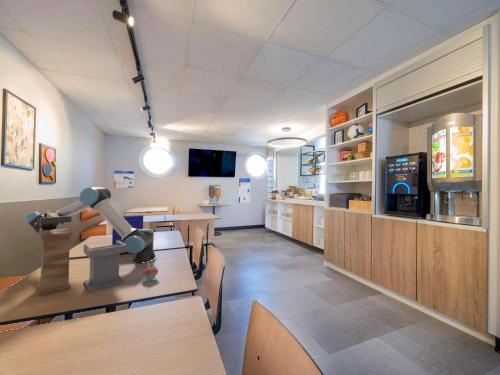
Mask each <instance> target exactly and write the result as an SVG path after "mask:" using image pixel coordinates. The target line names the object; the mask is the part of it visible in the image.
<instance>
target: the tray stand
mask: <svg viewBox="0 0 500 375" xmlns="http://www.w3.org/2000/svg"><path fill="white" fill-rule="evenodd" d="M123 252H126V244H124V243H122V242H120V241H119V240H116V244H115V245H112V244H110V245H104V246H98V247H91V248H90V247H89V246H88V245H87V244H84V245H83V253H84V255H85V256H87V258H88V259H89V278H88V279H84V280H83V285H84V286H85V287H86V289H87V291H88V292H90V293H93V292H96V291H99V290H104V289H106V288H107V289H108V288H110V287H114V286H118V285H121V284H124V283H125V279H124V278H123V277H122V276H121V275H120V254H119V253H122V254H124V253H123Z"/></svg>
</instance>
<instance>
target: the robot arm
mask: <svg viewBox="0 0 500 375" xmlns="http://www.w3.org/2000/svg"><path fill="white" fill-rule="evenodd" d="M111 198H112V192H111V190H110V189H108V188H107V187H104V186H95V187H94V186H90V187H89V186H87V187H85V188H83V189H82V190H81V192H80V193H79V198H78V199H79V200H77V201H75V202H73V203H71V204H69V205H66V206H64V207H62V208H59V209H56V210H55V211H52V213H54V212H55V213H56V214H57V215H58V216H74V215H76V214H78V213H81V212H83V211H85V210H87V209H89V208H90V209H91V210H93V211H97V212H98V213H99V214H100V215H101V216H102V217H103V219H104V220H105V221H107V223H108V224H109V225H110V226H111V227H112V229H113V228H114V229H115V230H116V231H117V232H118V234H119V235H120V236H121V237H122V239H121V241H122V242H123V243H124V244H126V251H127V252H129V253H128V254H134V255H133V258H132V262H133V263H134V262H136V263H135V264H143V263H142V262H147V261H150V260H153V259H154V258H155V257H156V253H155V249H154V238H155V237H154V236H155V235H154V234H155V233H154V229H152V228H143V229H134V228H133V227H132V226H131V225H130V224H129V223H128V222H127V221H126V220H125V219H124V218H123V217H122V216H123V215H122V214H121V213H120V212H119V211H118V210H117V209H116V207H114V206H113V204H112V203H111V202H110V201H111ZM50 213H51V212H50V209H48V210H47V211H46V213H44V214H41V213H40V212H38V211H33V212H30V213H28V214H27V215H26V216H25V217H24V220H25V221H26V222H27V224H28V225H29V226H30V227H31V228H32V229H33V230H34V231H35V232H36V233H37V236H38V238H39V239H40V237H39V231H44V230H54V229H58V226H59V225H65V222H64V223H52V224H40V218H43V217H49V214H50ZM40 241H42V239H40Z"/></svg>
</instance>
